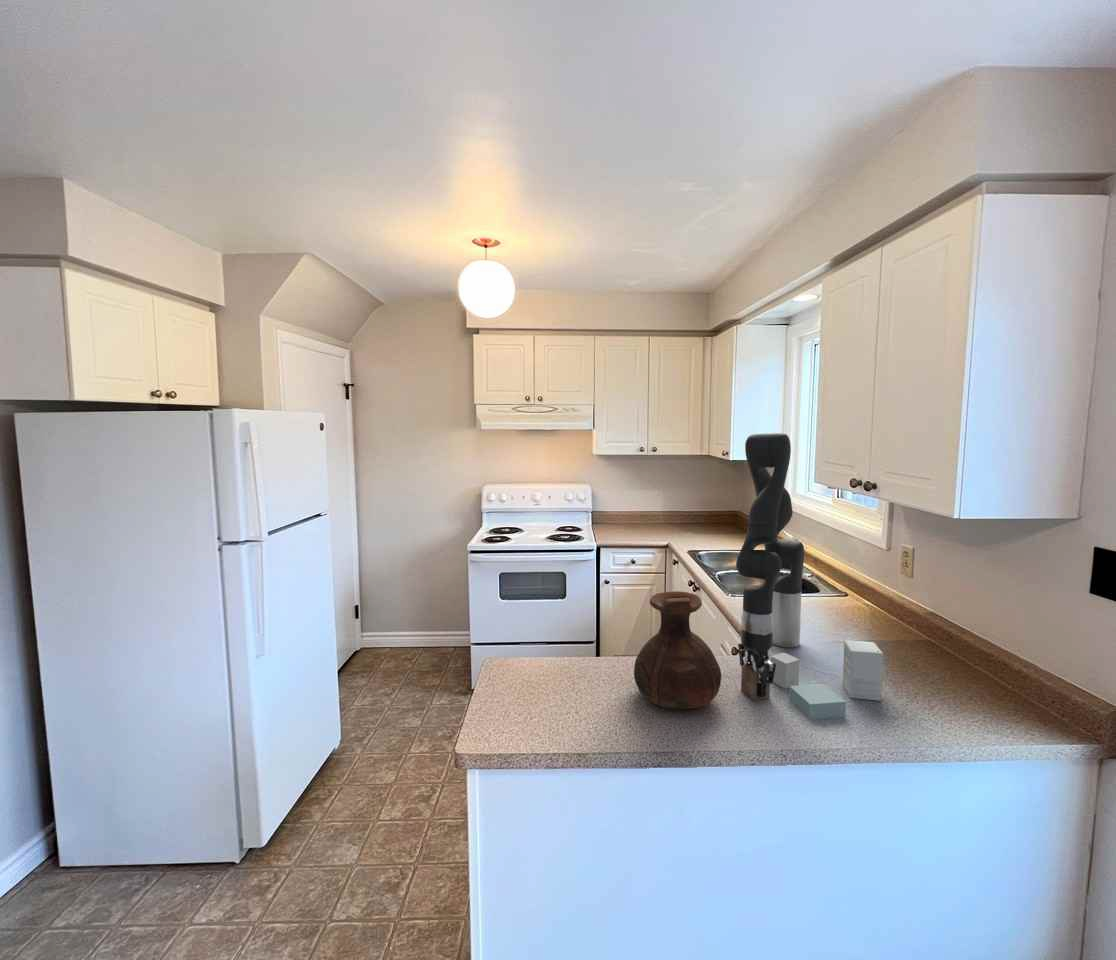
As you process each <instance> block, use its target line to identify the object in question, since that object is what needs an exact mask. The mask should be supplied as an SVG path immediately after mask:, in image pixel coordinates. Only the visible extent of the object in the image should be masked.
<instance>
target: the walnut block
mask: <svg viewBox="0 0 1116 960" xmlns="http://www.w3.org/2000/svg"><path fill="white" fill-rule="evenodd" d="M763 669H764V668H758V670H763ZM762 674H763V673H761V674H760V676H761V678H762ZM740 676H741V678H740V679H741V684H740V687H741V689H740V691H741V692H742V693H743V694H744V695H746V697H748V699H750V700H751V701H755V700H763V699H765V700H766V699H770V693H771V691H770V690H771V689H770V688H771V684H767V685H766V696H765V697H758V696H757V674H756V673H754V669H753V665H742V666H741V675H740ZM768 678H769V677H768Z"/></svg>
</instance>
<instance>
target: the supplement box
mask: <svg viewBox="0 0 1116 960" xmlns="http://www.w3.org/2000/svg"><path fill="white" fill-rule="evenodd" d="M842 664H843V665H842V667H843V669H842V686H843V688H844V689H845V691H846V693H847V695H848V696H849V698H850V699H860V700H869V701H879V702H881V701H882V689H883V668H884V667H883V666H884V652H882V650H881V649H880V648H879V647H878V645H877V644H876V643H875V642H874V641H861V640H860V641H859V640H849V639H844V641H843V663H842Z"/></svg>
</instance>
